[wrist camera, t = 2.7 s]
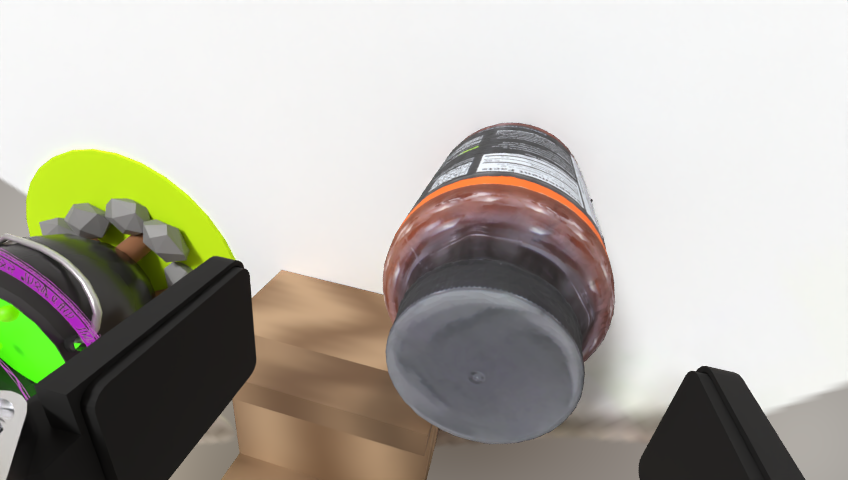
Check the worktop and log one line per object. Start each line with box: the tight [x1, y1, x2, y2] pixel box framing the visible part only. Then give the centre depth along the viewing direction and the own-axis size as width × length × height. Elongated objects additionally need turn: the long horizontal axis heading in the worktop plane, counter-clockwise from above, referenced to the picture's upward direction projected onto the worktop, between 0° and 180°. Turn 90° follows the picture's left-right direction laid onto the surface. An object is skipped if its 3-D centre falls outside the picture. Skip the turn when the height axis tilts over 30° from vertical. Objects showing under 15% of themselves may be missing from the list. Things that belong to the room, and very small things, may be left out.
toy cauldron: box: [0, 149, 235, 401], centre depth 21 cm, size 15×15×11 cm
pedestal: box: [221, 270, 439, 480], centre depth 22 cm, size 10×10×7 cm
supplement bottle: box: [383, 123, 615, 444], centre depth 13 cm, size 6×6×11 cm
